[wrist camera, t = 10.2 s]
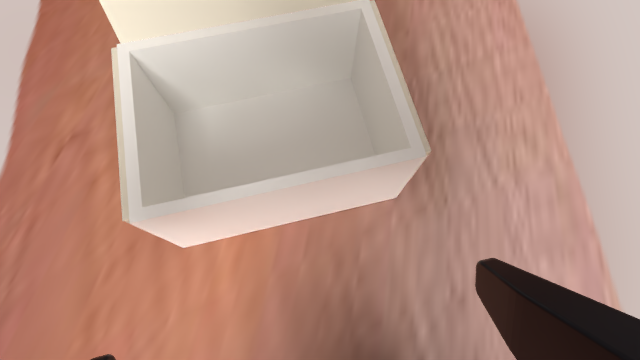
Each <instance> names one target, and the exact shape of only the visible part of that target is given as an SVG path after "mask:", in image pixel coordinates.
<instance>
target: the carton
mask: <svg viewBox="0 0 640 360" xmlns="http://www.w3.org/2000/svg"><path fill="white" fill-rule="evenodd" d="M111 52H112V67H113V83H114V98H115V113H116V129H117V144H118V160H119V175H120V190H121V206H122V221H125V222H127V223H129V224H131V225H133V226H136V227H138V228H140V229H142V230H144V231H147V232H149V233H151V234H153V235H155V236H158V237H161V238H163V239H165V240H167V241H169V242H172V243H174V244H176V245H178V246H180V247H183V248H185V247H190V246H194V245H198V244H202V243H207V242H211V241H215V240H219V239H224V238H228V237H232V236H236V235H241V234H245V233H249V232H253V231H258V230H262V229H266V228H270V227H275V226H279V225H283V224H287V223H292V222H296V221H300V220H304V219H309V218H313V217H317V216H321V215H326V214H330V213H334V212H338V211H343V210H347V209H351V208H355V207H360V206H364V205H368V204H372V203H377V202H381V201H385V200H389V199H394V198H397V196H398V195H399V193H400V192H401V191H402V189H403V188H404V187H405V185H406V184H407V183H408V181H409V180H410V179H411V178H412V177H413V175H414V174H415V173H416V171H417V170H418V169H419V167H420V166H421V164H422V163H423V162H424V160H425V159H426V158H427V156H428V155H429V154H430V152H431V148H430V146H429V143H428V140H427V138H426V135H425V132H424V130H423V127H422V125H421V122H420V119H419V117H418V114H417V111H416V109H415V106H414V103H413V101H412V98H411V95H410V93H409V90H408V87H407V85H406V82H405V79H404V77H403V74H402V71H401V69H400V66H399V64H398V61H397V58H396V56H395V53H394V50H393V48H392V45H391V42H390V40H389V37H388V34H387V32H386V29H385V26H384V24H383V21H382V18H381V16H380V13H379V10H378V8H377V5H376V3H375V0H373V1H369V0H357V1H352V2H346V3H341V4H335V5H330V6H324V7H319V8H313V9H308V10H302V11H297V12H291V13H286V14H280V15H275V16H269V17H264V18H258V19H253V20H247V21H242V22H236V23H231V24H225V25H220V26H214V27H209V28H203V29H198V30H192V31H187V32H181V33H176V34H170V35H165V36H159V37H154V38H148V39H143V40H137V41H132V42H126V43H121V44H117V47H116V48H111Z"/></svg>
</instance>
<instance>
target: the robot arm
mask: <svg viewBox="0 0 640 360" xmlns="http://www.w3.org/2000/svg"><path fill="white" fill-rule="evenodd" d="M475 286H476V291H477V294H478V296H479V298H480V299H481V301H482V303H483V305H484V306H485V308H486V310H487V311H488V313H489V315H490V317H491V318H492V320H493V322H494V324H495V325H496V327H497V329H498V330H499V332H500V334H501V336H502V337H503V339H504V341H505V342H506V344H507V346H508V347H509V349H510V351H511V352H512V353H513V355H514V356H515V358H516V359H517V360H640V319H637V318H635V317H633V316H630V315H628V314H626V313H623V312H621V311H619V310H616V309H614V308H612V307H609V306H607V305H604V304H602V303H600V302H597V301H595V300H593V299H590V298H588V297H586V296H583V295H581V294H578V293H576V292H574V291H571V290H569V289H567V288H564V287H562V286H560V285H557V284H555V283H552V282H550V281H548V280H545V279H543V278H541V277H538V276H536V275H534V274H531V273H529V272H526V271H524V270H522V269H519V268H517V267H515V266H512V265H510V264H507V263H505V262H503V261H500V260H498V259H495V258H489V259H485V260H481V261H479V262H478V263H477V265H476V284H475ZM91 360H116V359H115V358H114V356H112V355H111V354H107V355H103V356H99V357H95V358H93V359H91Z"/></svg>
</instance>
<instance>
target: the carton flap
mask: <svg viewBox="0 0 640 360" xmlns="http://www.w3.org/2000/svg"><path fill="white" fill-rule="evenodd" d="M99 1H100V3H101V5H102V7H103V9H104V11H105V13H106V15H107V17H108V19H109V21H110V23H111V25H112V27H113V29H114V31H115V33H116V35H117V37H118V39H119V41H120V43H126V42H131V41H137V40H142V39H148V38H153V37H159V36H164V35H170V34H175V33H181V32H186V31H192V30H197V29H203V28H208V27H214V26H219V25H225V24H230V23H236V22H241V21H247V20H252V19H258V18H263V17H269V16H274V15H280V14H285V13H291V12H296V11H302V10H307V9H313V8H318V7H324V6H329V5H335V4H340V3H346V2H351V1H357V0H99Z"/></svg>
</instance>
